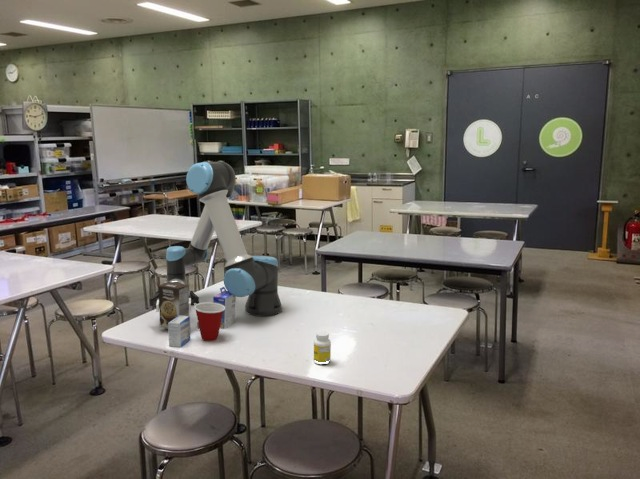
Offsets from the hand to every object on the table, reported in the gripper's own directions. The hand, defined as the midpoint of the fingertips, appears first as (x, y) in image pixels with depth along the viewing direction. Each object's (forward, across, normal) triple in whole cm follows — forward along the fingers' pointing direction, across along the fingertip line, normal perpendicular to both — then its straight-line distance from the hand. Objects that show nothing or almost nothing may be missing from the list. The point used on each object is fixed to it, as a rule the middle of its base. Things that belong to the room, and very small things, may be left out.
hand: (173, 307), depth 190 cm
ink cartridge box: (-8, -18, -10) cm, 22 cm away
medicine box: (+9, -2, -10) cm, 14 cm away
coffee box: (-4, 0, -9) cm, 10 cm away
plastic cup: (+6, -13, -10) cm, 17 cm away
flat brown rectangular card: (-7, -11, -10) cm, 16 cm away
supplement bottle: (+34, -47, -10) cm, 59 cm away
